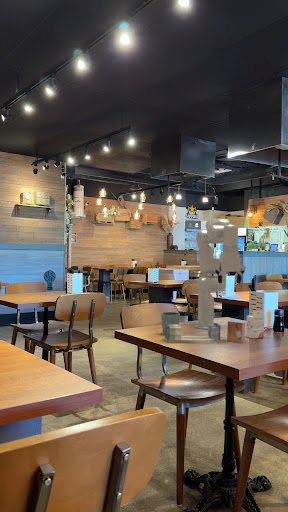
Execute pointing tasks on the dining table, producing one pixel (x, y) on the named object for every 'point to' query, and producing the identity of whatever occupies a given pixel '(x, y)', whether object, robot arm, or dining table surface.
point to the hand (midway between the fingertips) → (229, 283)
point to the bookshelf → (175, 336)
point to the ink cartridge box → (255, 325)
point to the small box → (236, 331)
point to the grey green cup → (169, 319)
